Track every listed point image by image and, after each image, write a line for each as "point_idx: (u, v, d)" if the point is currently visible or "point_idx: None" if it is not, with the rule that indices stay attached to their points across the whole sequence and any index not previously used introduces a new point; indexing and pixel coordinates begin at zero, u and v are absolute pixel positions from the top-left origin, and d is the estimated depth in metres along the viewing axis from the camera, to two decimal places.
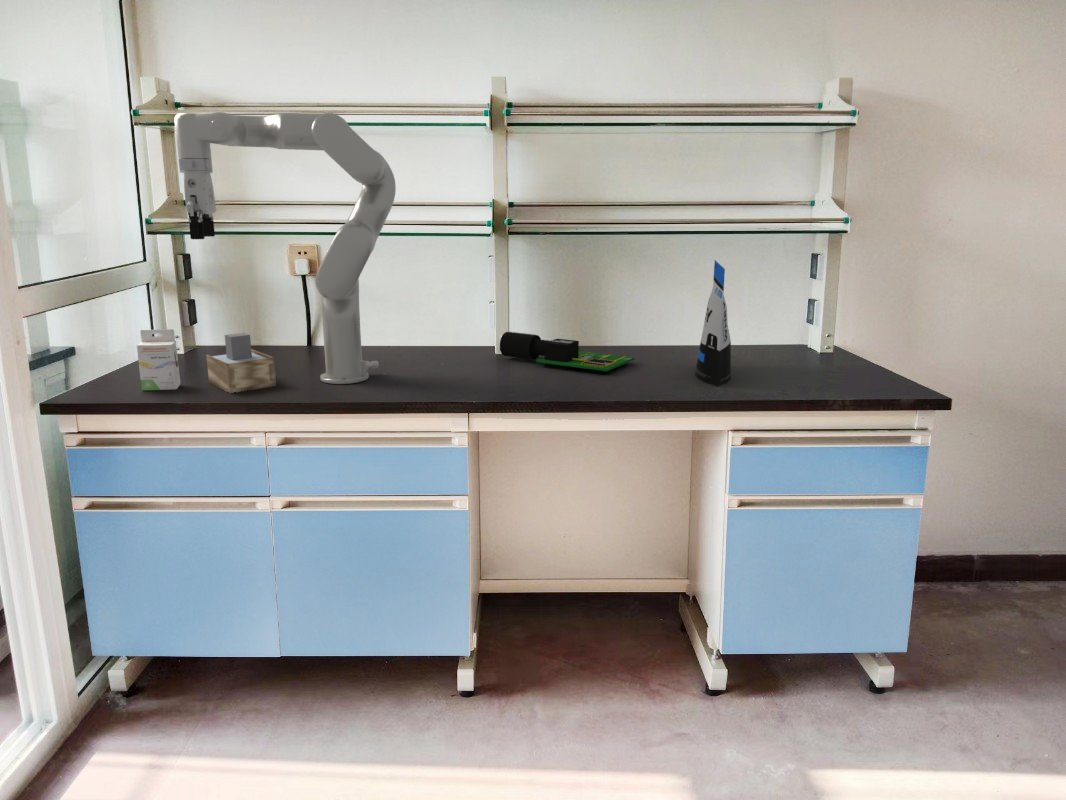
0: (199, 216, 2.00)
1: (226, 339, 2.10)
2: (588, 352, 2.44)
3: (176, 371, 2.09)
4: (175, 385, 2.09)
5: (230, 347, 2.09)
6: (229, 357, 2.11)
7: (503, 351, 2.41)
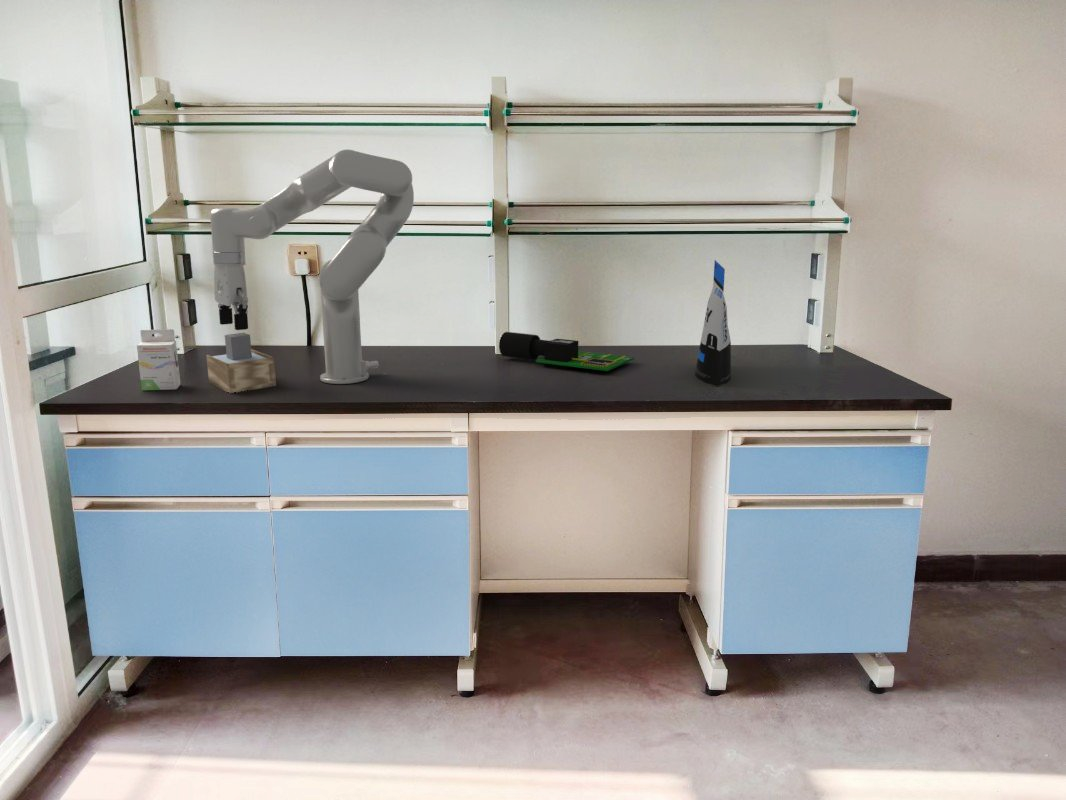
0: None
1: (226, 339, 2.10)
2: (587, 352, 2.44)
3: (176, 371, 2.09)
4: (175, 385, 2.09)
5: (230, 347, 2.09)
6: (229, 357, 2.11)
7: (502, 351, 2.41)
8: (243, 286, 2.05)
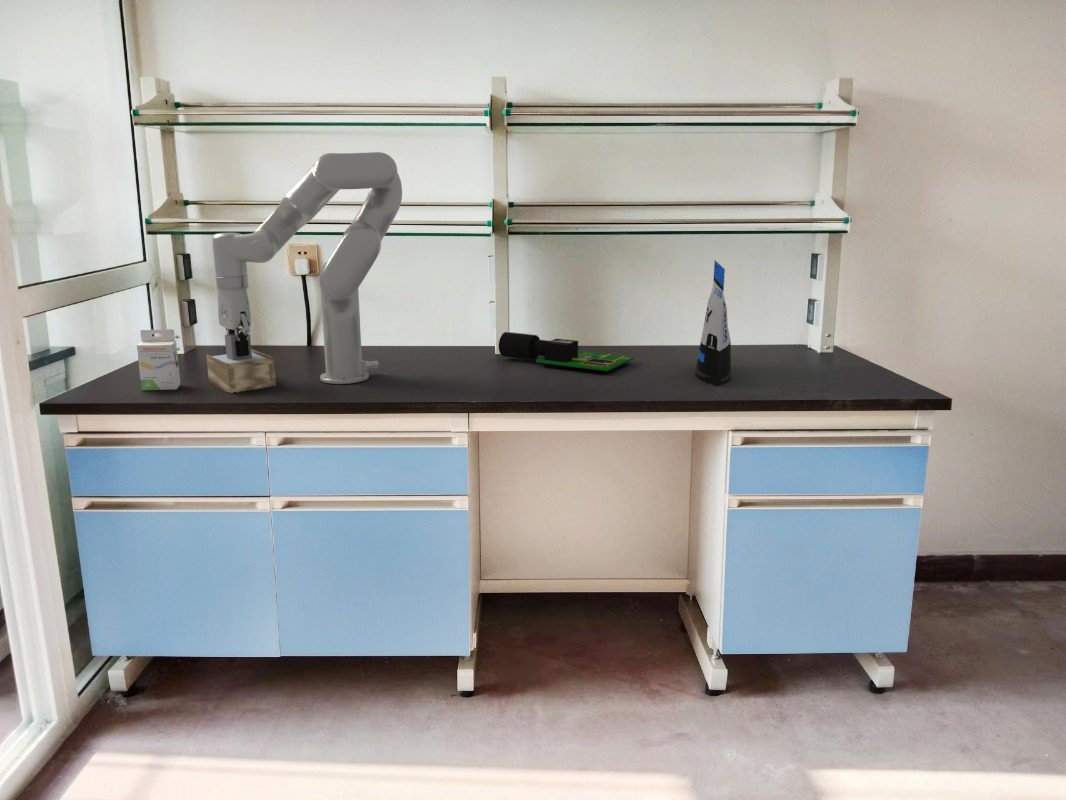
0: None
1: (226, 339, 2.10)
2: (587, 352, 2.44)
3: (176, 371, 2.09)
4: (175, 385, 2.09)
5: (230, 347, 2.09)
6: (229, 357, 2.11)
7: (502, 351, 2.41)
8: (247, 310, 2.06)
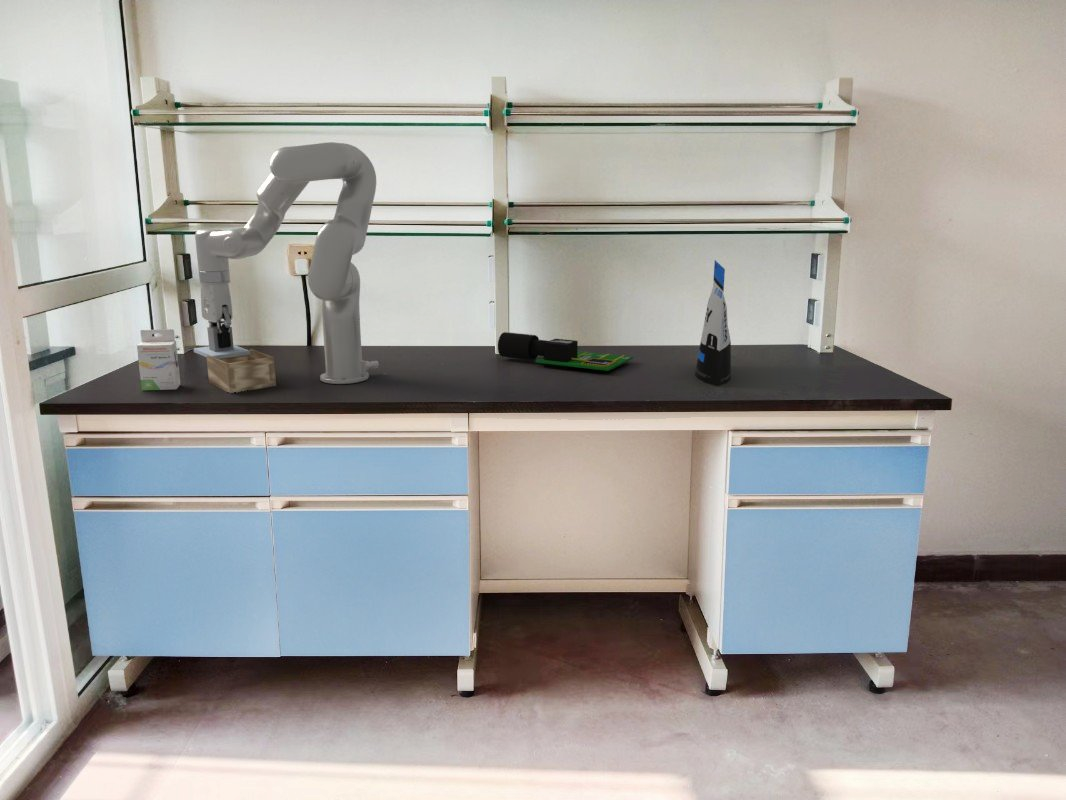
0: None
1: (209, 331, 2.19)
2: (586, 352, 2.44)
3: (176, 371, 2.09)
4: (175, 385, 2.09)
5: (212, 339, 2.18)
6: (211, 349, 2.19)
7: (501, 352, 2.40)
8: (229, 303, 2.15)
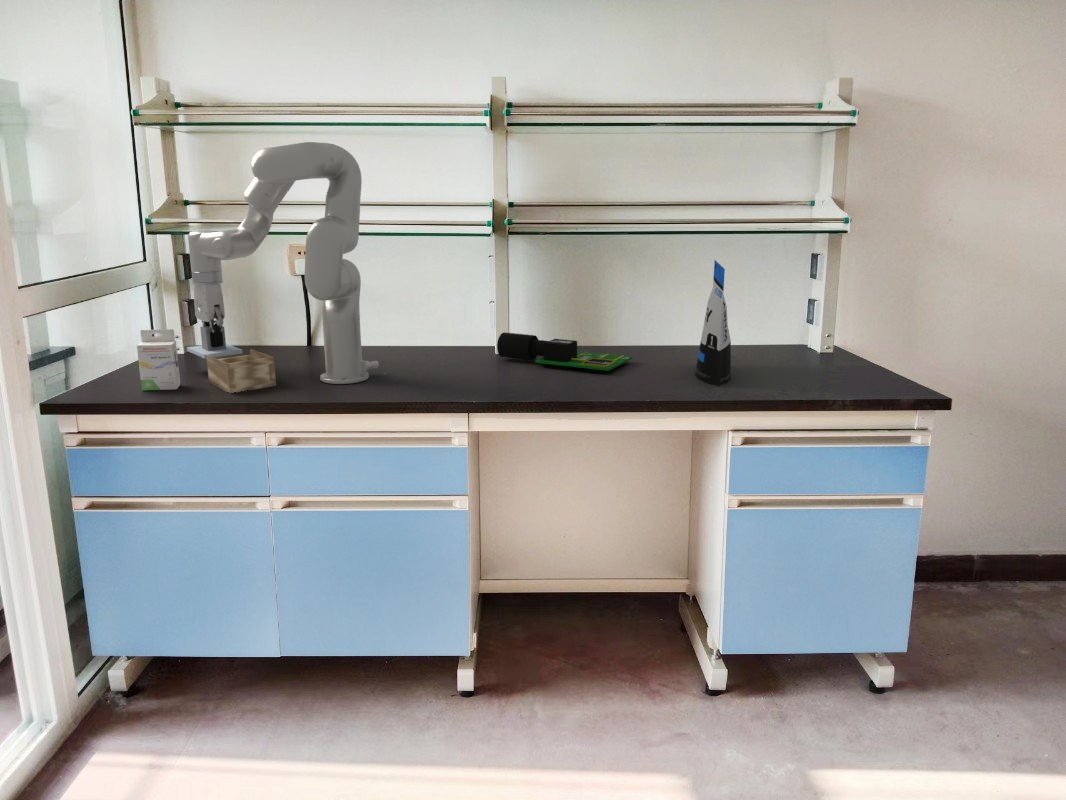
0: None
1: (201, 331, 2.23)
2: (585, 352, 2.44)
3: (176, 371, 2.09)
4: (175, 385, 2.09)
5: (205, 338, 2.22)
6: (204, 348, 2.24)
7: (500, 352, 2.40)
8: (221, 303, 2.19)
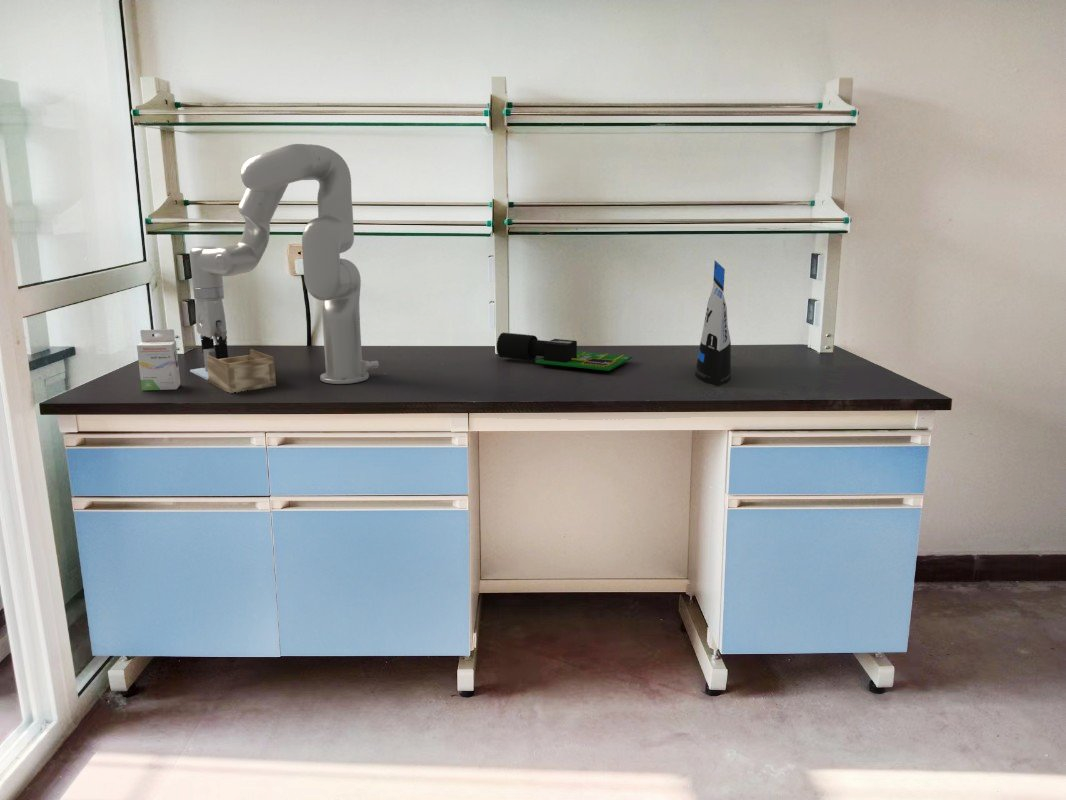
0: None
1: (204, 353, 2.25)
2: (584, 352, 2.44)
3: (176, 371, 2.09)
4: (175, 385, 2.09)
5: None
6: (207, 370, 2.25)
7: (500, 352, 2.40)
8: (222, 319, 2.20)
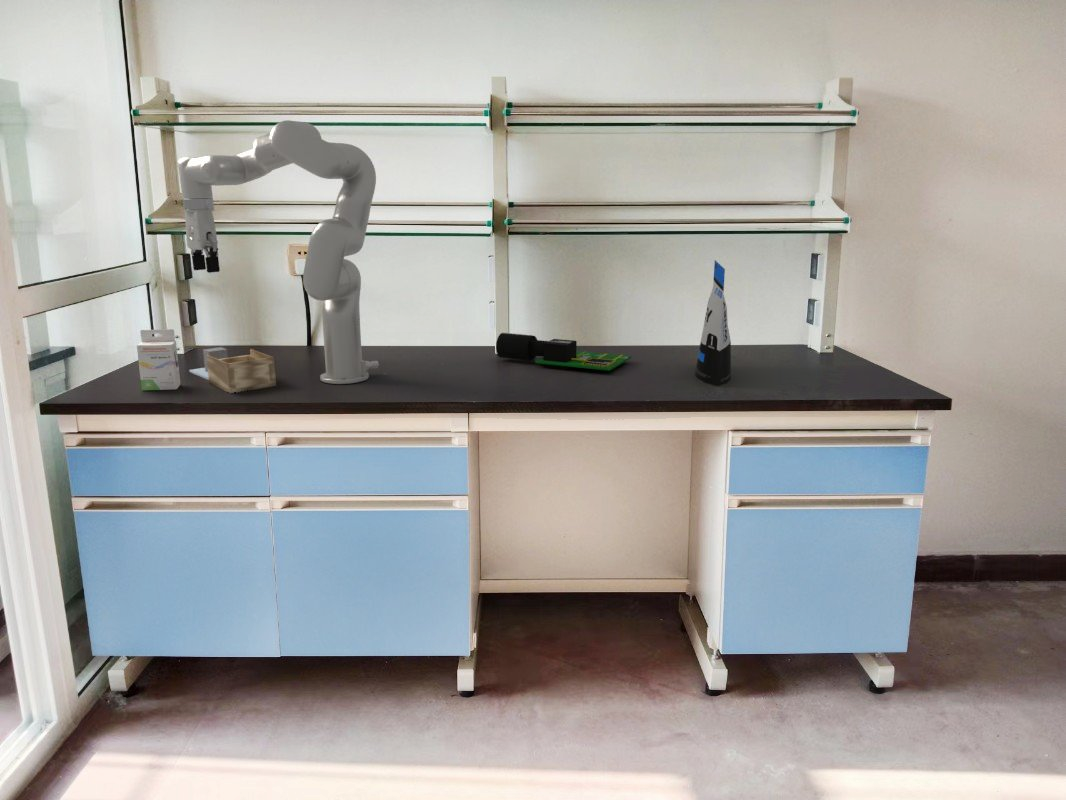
0: None
1: (204, 353, 2.25)
2: (583, 352, 2.44)
3: (176, 371, 2.09)
4: (175, 385, 2.09)
5: None
6: (207, 370, 2.25)
7: (499, 352, 2.39)
8: (213, 231, 2.17)
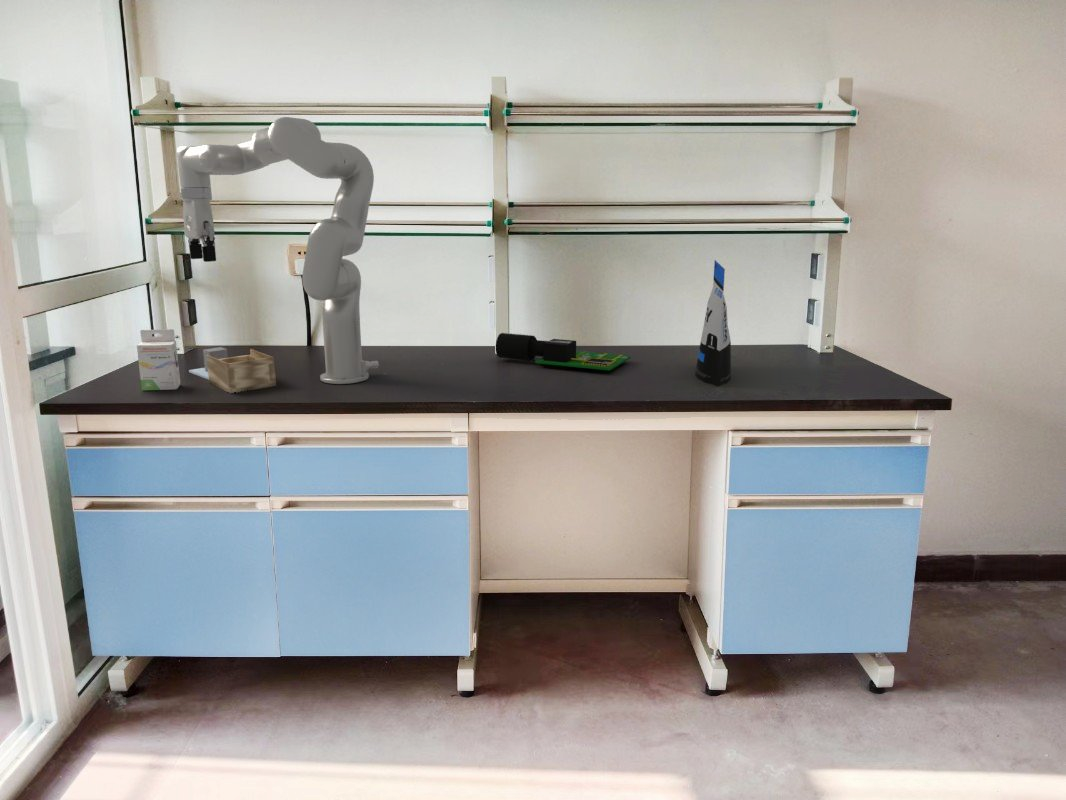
0: None
1: (204, 354, 2.24)
2: None
3: (176, 371, 2.09)
4: (175, 385, 2.09)
5: None
6: (207, 370, 2.25)
7: (499, 353, 2.39)
8: (210, 220, 2.17)
